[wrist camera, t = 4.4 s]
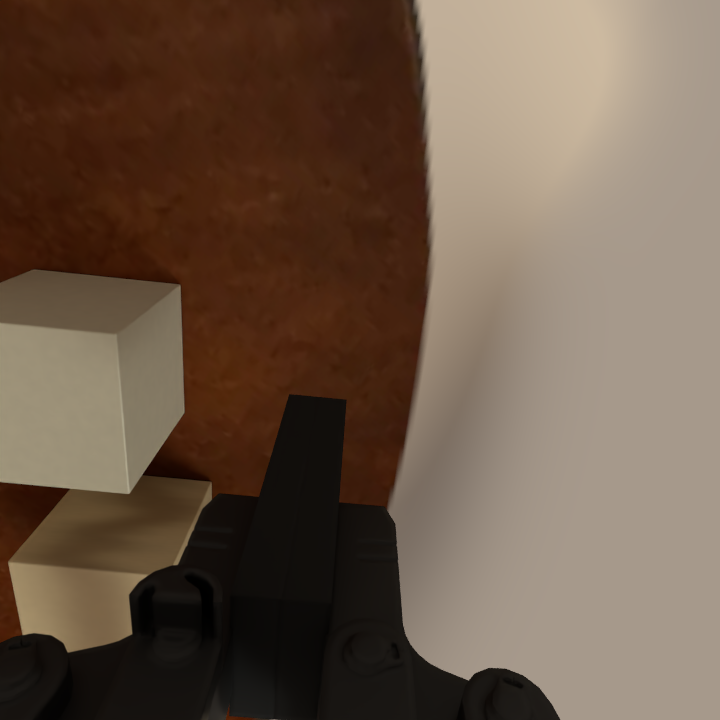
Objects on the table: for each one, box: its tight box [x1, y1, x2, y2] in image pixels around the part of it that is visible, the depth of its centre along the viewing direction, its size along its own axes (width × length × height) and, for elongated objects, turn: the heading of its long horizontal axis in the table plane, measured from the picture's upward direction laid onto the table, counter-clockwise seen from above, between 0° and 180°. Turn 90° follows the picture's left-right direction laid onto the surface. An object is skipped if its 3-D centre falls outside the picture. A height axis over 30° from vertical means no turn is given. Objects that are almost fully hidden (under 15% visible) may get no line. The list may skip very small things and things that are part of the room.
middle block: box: [0, 269, 184, 494], centre depth 17 cm, size 5×5×5 cm
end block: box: [8, 475, 212, 652], centre depth 20 cm, size 5×5×5 cm
